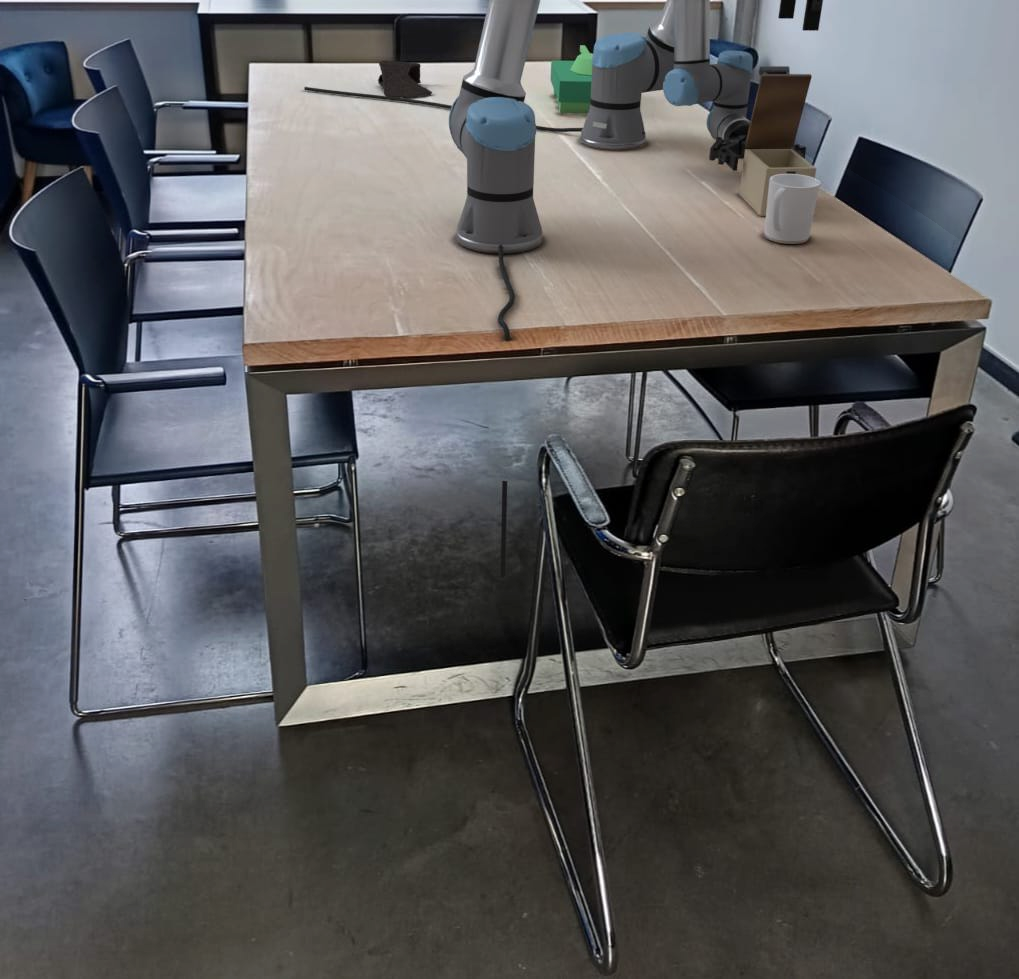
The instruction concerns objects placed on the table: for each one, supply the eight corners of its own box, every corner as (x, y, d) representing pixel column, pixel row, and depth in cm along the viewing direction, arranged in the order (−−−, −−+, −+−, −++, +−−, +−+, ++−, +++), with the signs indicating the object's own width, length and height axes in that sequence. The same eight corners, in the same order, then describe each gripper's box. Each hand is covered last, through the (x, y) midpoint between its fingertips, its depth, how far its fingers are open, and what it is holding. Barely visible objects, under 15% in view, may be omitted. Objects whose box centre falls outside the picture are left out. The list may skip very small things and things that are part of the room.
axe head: (443, 87, 294) (392, 77, 287) (436, 115, 299) (385, 106, 292) (421, 62, 307) (371, 52, 300) (414, 89, 311) (365, 80, 304)
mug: (775, 225, 205) (784, 170, 200) (819, 236, 201) (829, 180, 195) (747, 240, 198) (754, 183, 193) (791, 251, 193) (801, 193, 188)
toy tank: (613, 42, 302) (631, 66, 272) (610, 88, 309) (627, 117, 279) (549, 40, 301) (560, 65, 272) (547, 87, 308) (558, 116, 278)
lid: (812, 76, 208) (800, 56, 213) (762, 76, 207) (751, 56, 212) (793, 147, 219) (782, 126, 224) (745, 148, 218) (736, 127, 223)
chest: (808, 215, 212) (816, 168, 207) (760, 216, 211) (766, 168, 206) (785, 194, 224) (792, 148, 219) (739, 194, 223) (745, 149, 218)
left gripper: (865, -103, 180) (842, 35, 191) (813, -111, 201) (795, 13, 212) (821, -103, 179) (800, 35, 190) (773, -112, 200) (757, 13, 211)
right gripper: (793, 154, 240) (826, 181, 222) (681, 155, 237) (706, 182, 219) (798, 119, 236) (832, 144, 218) (685, 119, 233) (710, 144, 215)
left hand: (797, 24), depth 201 cm, fingers open, 13 cm apart
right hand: (769, 163), depth 219 cm, fingers open, 13 cm apart
